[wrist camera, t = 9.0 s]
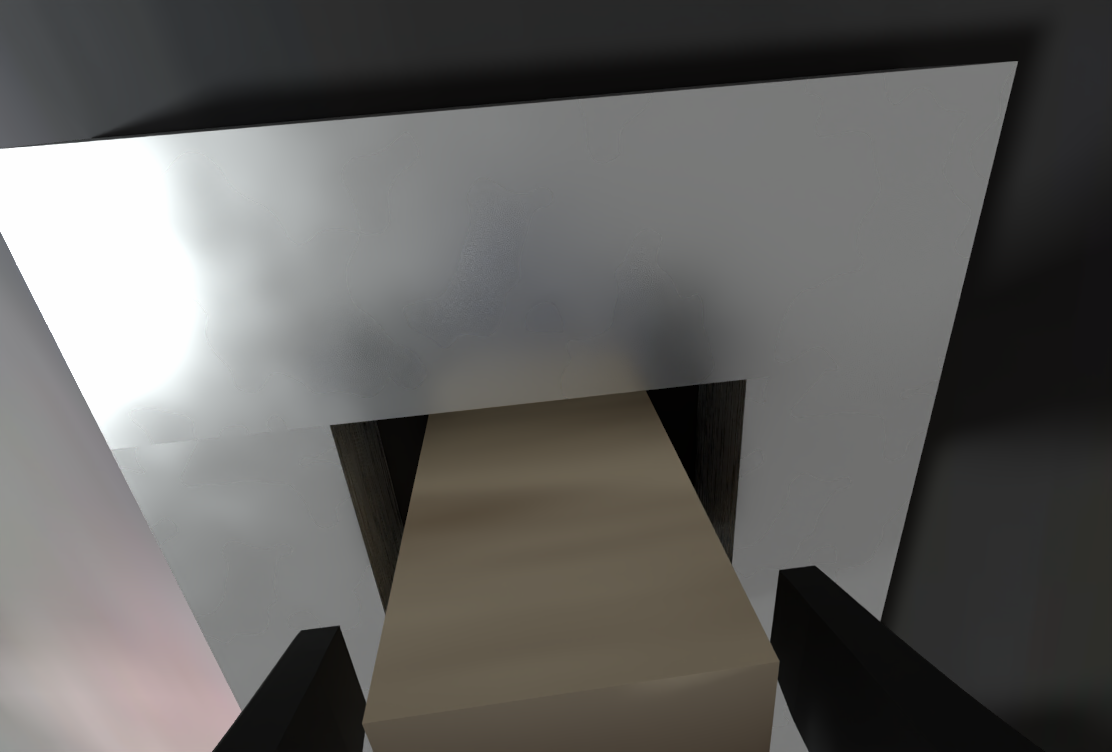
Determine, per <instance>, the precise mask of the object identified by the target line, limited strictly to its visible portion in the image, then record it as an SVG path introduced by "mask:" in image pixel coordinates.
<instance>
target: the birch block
mask: <svg viewBox="0 0 1112 752" xmlns="http://www.w3.org/2000/svg"><path fill="white" fill-rule="evenodd" d="M779 662H780V661H779V659H778V657H777V655H776V653H775V651H774V649H773V647H772V645H771V643H770V641H769V639H768V637H767V635H766V633H765V631H764V629H763V627H762V625H761V623H760V621H759V619H758V617H757V615H756V613H755V611H754V609H753V607H752V605H751V603H750V601H749V599H748V597H747V595H746V593H745V591H744V589H743V587H742V585H741V583H740V580H739V578H738V576H737V574H736V572H735V570H734V568H733V566H732V564H731V562H730V560H729V558H728V556H727V554H726V552H725V550H724V548H723V546H722V544H721V542H720V540H719V538H718V536H717V534H716V532H715V530H714V528H713V526H712V524H711V522H710V520H709V518H708V516H707V514H706V512H705V510H704V508H703V506H702V504H701V502H700V500H699V498H698V496H697V494H696V491H695V489H694V487H693V485H692V483H691V481H690V479H689V477H688V475H687V473H686V471H685V469H684V467H683V465H682V463H681V461H680V459H679V457H678V455H677V453H676V451H675V449H674V447H673V445H672V443H671V441H670V439H669V437H668V435H667V433H666V431H665V429H664V427H663V425H662V423H661V421H660V419H659V417H658V415H657V413H656V411H655V409H654V407H653V405H652V402H651V400H650V398H649V396H648V394H647V392H646V390H644V391H635V392H626V393H617V394H608V395H599V396H590V397H581V398H572V399H563V400H554V401H545V402H535V403H526V404H517V405H508V406H499V407H490V408H481V409H472V410H463V411H454V412H445V413H436V414H429V417H428V421H427V426H426V430H425V435H424V440H423V444H422V449H421V454H420V458H419V463H418V467H417V472H416V477H415V481H414V486H413V491H412V495H411V500H410V504H409V509H408V514H407V518H406V523H405V527H404V532H403V537H402V541H401V546H400V551H399V555H398V560H397V564H396V569H395V574H394V578H393V583H392V588H391V592H390V597H389V601H388V606H387V611H386V615H385V620H384V624H383V629H382V634H381V638H380V643H379V648H378V652H377V657H376V661H375V666H374V671H373V675H372V680H371V685H370V689H369V694H368V698H367V703H366V708H365V712H364V717H363V721H362V725H363V727H364V730H365V732H366V735H367V737H368V740H369V742H370V745H371V747H372V750H373V752H770V743H771V734H772V725H773V716H774V707H775V698H776V689H777V680H778V671H779Z"/></svg>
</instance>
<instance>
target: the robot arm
mask: <svg viewBox="0 0 1112 752" xmlns="http://www.w3.org/2000/svg"><path fill="white" fill-rule="evenodd" d="M770 643H771V645H772V647H773V649H774V651H775V653H776V655H777V657H778V659H779V661H780V662H779V671H778V682H779V685H780V688H781V690H782V693H783V696H784V698H785V701H786V703H787V706H788V708H789V711H790V714H791V716H792V719H793V721H794V723H795V725H796V727H797V729H798V731H799V733H800V735H801V737H802V739H803V741H804V743H805V745H806V747H807V749H808V751H809V752H1044V751H1043V750H1042V749H1040V748H1039V747H1038V746H1036V745H1035V744H1033V743H1032V742H1031V741H1029V740H1028V739H1027V738H1025V737H1024V736H1023V735H1021V734H1020V733H1019V732H1017V731H1016V730H1015V729H1013V728H1012V727H1011V726H1009V725H1008V724H1007V723H1005V722H1004V721H1003V720H1002V719H1000V718H999V717H998V716H996V715H995V714H994V713H992V712H991V711H990V710H988V709H987V708H986V707H984V706H983V705H982V704H981V703H979V702H978V701H977V700H975V699H974V698H973V697H972V696H970V695H969V694H968V693H967V692H965V691H964V690H963V689H961V688H960V687H959V686H958V685H956V684H955V683H954V682H953V681H952V680H950V679H949V678H948V677H947V676H945V675H944V674H943V673H942V672H940V671H939V670H938V669H937V668H936V667H934V666H933V665H932V664H931V663H929V662H928V661H927V660H926V659H924V658H923V657H922V656H921V655H920V654H918V653H917V652H916V651H915V650H913V649H912V648H911V647H910V646H909V645H908V644H906V643H905V642H904V641H903V640H902V639H900V638H899V637H898V636H897V635H896V634H894V633H893V632H892V631H891V630H890V629H889V628H887V627H886V626H885V625H884V624H883V623H882V622H880V621H879V620H878V619H877V618H876V617H875V616H873V615H872V614H871V613H870V612H869V611H868V610H866V609H865V608H864V607H863V606H862V605H861V604H859V603H858V602H857V601H856V600H855V599H854V598H853V597H851V596H850V595H849V594H848V593H847V592H846V591H844V590H843V589H842V588H841V587H840V586H839V585H837V584H836V583H835V582H834V581H833V580H832V579H831V578H829V577H828V576H827V575H826V574H825V573H823V572H822V571H821V570H820V569H819V568H818V567H816V566H815V565H814V566H806V567H798V568H790V569H782V570H779V575H778V583H777V590H776V598H775V606H774V614H773V622H772V630H771V638H770ZM365 708H366V701H365V698H364V695H363V692H362V689H361V686H360V683H359V680H358V678H357V675H356V672H355V669H354V666H353V663H352V660H351V657H350V654H349V651H348V649H347V646H346V643H345V640H344V637H343V634H342V631H341V628H340V625H338V626H331V627H323V628H315V629H307V630H301V631H300V632H299V633H298V634H297V635H296V637H295V638H294V639H293V641H292V642H291V644H290V645H289V646H288V648H287V649H286V651H285V652H284V653H283V655H282V656H281V658H280V659H279V660H278V662H277V663H276V665H275V666H274V667H273V669H272V670H271V672H270V673H269V675H268V676H267V677H266V679H265V680H264V682H263V683H262V684H261V686H260V687H259V689H258V690H257V691H256V693H255V694H254V696H253V697H252V698H251V700H250V701H249V702H248V704H247V705H246V707H245V708H244V709H243V711H242V712H241V714H240V715H239V716H238V718H237V719H236V720H235V722H234V723H233V725H232V726H231V727H230V729H229V730H228V731H227V733H226V734H225V735H224V737H223V738H222V739H221V741H220V742H219V743H218V745H217V746H216V747H215V749H214V750H213V751H212V752H363V745H364V737H365V730H364V727H363V725H362V721H363V717H364V712H365Z"/></svg>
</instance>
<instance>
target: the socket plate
mask: <svg viewBox="0 0 1112 752" xmlns="http://www.w3.org/2000/svg"><path fill="white" fill-rule="evenodd" d="M1017 63H1018V61H1011V62H995V63H979V64H963V65H946V66H930V67H914V68H900V69H888V70H877V71H865V72H854V73H842V74H831V75H819V76H807V77H796V78H784V79H773V80H761V81H750V82H738V83H727V84H715V85H703V86H692V87H680V88H669V89H657V90H646V91H634V92H623V93H611V94H599V95H588V96H576V97H565V98H553V99H542V100H530V101H519V102H507V103H495V104H484V105H472V106H461V107H449V108H438V109H426V110H415V111H403V112H391V113H380V114H368V115H357V116H345V117H334V118H322V119H311V120H299V121H288V122H276V123H264V124H253V125H241V126H230V127H218V128H207V129H195V130H184V131H172V132H160V133H149V134H137V135H126V136H114V137H103V138H91V139H81V140H72V141H63V142H54V143H45V144H36V145H27V146H18V147H9V148H0V230H1V232H2V234H3V236H4V238H5V240H6V242H7V244H8V246H9V248H10V250H11V252H12V254H13V256H14V258H15V260H16V262H17V264H18V266H19V268H20V270H21V272H22V274H23V276H24V278H25V280H26V282H27V284H28V286H29V288H30V290H31V292H32V294H33V296H34V298H35V300H36V302H37V304H38V306H39V308H40V310H41V312H42V314H43V316H44V318H45V320H46V322H47V324H48V326H49V328H50V330H51V332H52V334H53V336H54V338H55V340H56V342H57V344H58V346H59V348H60V350H61V352H62V354H63V356H64V358H65V360H66V362H67V364H68V366H69V368H70V370H71V372H72V374H73V376H74V378H75V380H76V382H77V384H78V386H79V388H80V390H81V392H82V394H83V396H84V398H85V400H86V402H87V404H88V406H89V408H90V410H91V412H92V414H93V416H94V418H95V420H96V422H97V424H98V426H99V428H100V430H101V432H102V434H103V436H104V438H105V440H106V442H107V444H108V446H109V448H110V450H111V452H112V454H113V456H114V458H115V460H116V462H117V464H118V465H119V467H120V469H121V471H122V473H123V475H124V477H125V479H126V481H127V483H128V485H129V487H130V489H131V491H132V493H133V495H134V497H135V499H136V501H137V503H138V505H139V507H140V509H141V511H142V513H143V515H144V517H145V519H146V521H147V523H148V525H149V527H150V529H151V531H152V533H153V535H154V537H155V539H156V541H157V543H158V545H159V547H160V549H161V551H162V553H163V555H164V557H165V559H166V561H167V563H168V565H169V567H170V569H171V571H172V573H173V575H174V577H175V579H176V581H177V583H178V585H179V587H180V589H181V591H182V593H183V595H184V597H185V599H186V601H187V603H188V605H189V607H190V609H191V611H192V613H193V615H194V617H195V619H196V621H197V623H198V625H199V627H200V629H201V631H202V633H203V635H204V637H205V639H206V641H207V643H208V645H209V647H210V649H211V651H212V653H213V655H214V657H215V659H216V661H217V663H218V665H219V667H220V669H221V671H222V673H223V675H224V677H225V679H226V681H227V683H228V685H229V687H230V689H231V691H232V693H233V695H234V697H235V699H236V701H237V703H238V705H239V707H240V708H241V710H242V711H243V709H244V708H245V707H246V705H247V704H248V702H249V701H250V700H251V698H252V697H253V696H254V694H255V693H256V691H257V690H258V689H259V687H260V686H261V684H262V683H263V682H264V680H265V679H266V677H267V676H268V675H269V673H270V672H271V670H272V669H273V667H274V666H275V665H276V663H277V662H278V660H279V659H280V658H281V656H282V655H283V653H284V652H285V651H286V649H287V648H288V646H289V645H290V644H291V642H292V641H293V639H294V638H295V637H296V635H297V634H298V633H299V632H300V631H301V630H307V629H315V628H323V627H331V626H338V625H340V628H341V631H342V634H343V637H344V640H345V643H346V646H347V649H348V651H349V654H350V657H351V660H352V663H353V666H354V669H355V672H356V675H357V678H358V680H359V683H360V686H361V689H362V692H363V695H364V698H365V701H366V703H367V698H368V694H369V689H370V685H371V680H372V675H373V671H374V666H375V661H376V657H377V652H378V648H379V643H380V638H381V634H382V629H383V624H384V620H385V615H386V611H387V606H388V601H389V597H390V592H391V588H392V583H393V578H394V574H395V569H396V564H397V560H398V555H399V551H400V546H401V541H402V537H403V532H404V528H403V524H402V520H401V516H400V512H399V508H398V504H397V500H396V496H395V492H394V488H393V484H392V480H391V476H390V472H389V468H388V464H387V460H386V456H385V452H384V448H383V444H382V440H381V436H380V432H379V428H378V424H377V420H382V419H391V418H400V417H409V416H418V415H427V414H436V413H445V412H454V411H463V410H472V409H481V408H490V407H499V406H508V405H517V404H526V403H535V402H545V401H554V400H563V399H572V398H581V397H590V396H599V395H608V394H617V393H626V392H635V391H644V390H653V389H662V388H671V387H680V386H689V385H698V409H697V436H696V463H695V491H696V494H697V496H698V498H699V500H700V502H701V504H702V506H703V508H704V510H705V512H706V514H707V516H708V518H709V520H710V522H711V524H712V526H713V528H714V530H715V532H716V534H717V536H718V538H719V540H720V542H721V544H722V546H723V548H724V550H725V552H726V554H727V556H728V558H729V560H730V562H731V564H732V566H733V568H734V570H735V572H736V574H737V576H738V578H739V580H740V583H741V585H742V587H743V589H744V591H745V593H746V595H747V597H748V599H749V601H750V603H751V605H752V607H753V609H754V611H755V613H756V615H757V617H758V619H759V621H760V623H761V625H762V627H763V629H764V631H765V633H766V635H767V637H768V639H769V641H770V638H771V630H772V622H773V614H774V606H775V598H776V590H777V583H778V575H779V570H782V569H790V568H798V567H806V566H814V565H815V566H816V567H818V568H819V569H820V570H821V571H822V572H823V573H825V574H826V575H827V576H828V577H829V578H831V579H832V580H833V581H834V582H835V583H836V584H837V585H839V586H840V587H841V588H842V589H843V590H844V591H846V592H847V593H848V594H849V595H850V596H851V597H853V598H854V599H855V600H856V601H857V602H858V603H859V604H861V605H862V606H863V607H864V608H865V609H866V610H868V611H869V612H870V613H871V614H872V615H873V616H875V617H876V618H877V619H878V620H879V621H880V620H881V616H882V612H883V608H884V604H885V600H886V596H887V592H888V588H889V584H890V579H891V575H892V571H893V567H894V563H895V559H896V555H897V551H898V547H899V543H900V539H901V535H902V531H903V527H904V523H905V519H906V514H907V510H908V506H909V502H910V498H911V494H912V490H913V486H914V482H915V478H916V474H917V470H918V466H919V462H920V458H921V454H922V449H923V445H924V441H925V437H926V433H927V429H928V425H929V421H930V417H931V413H932V409H933V405H934V401H935V397H936V393H937V389H938V384H939V380H940V376H941V372H942V368H943V364H944V360H945V356H946V352H947V348H948V344H949V340H950V336H951V332H952V328H953V323H954V319H955V315H956V311H957V307H958V303H959V299H960V295H961V291H962V287H963V283H964V279H965V275H966V271H967V267H968V263H969V258H970V254H971V250H972V246H973V242H974V238H975V234H976V230H977V226H978V222H979V218H980V214H981V210H982V206H983V202H984V198H985V193H986V189H987V185H988V181H989V177H990V173H991V169H992V165H993V161H994V157H995V153H996V149H997V145H998V141H999V137H1000V132H1001V128H1002V124H1003V120H1004V116H1005V112H1006V108H1007V104H1008V100H1009V96H1010V92H1011V88H1012V84H1013V80H1014V76H1015V72H1016V67H1017ZM363 752H373V750H372V747H371V745H370V742H369V740H368V737H367V735H366V732H365V737H364V745H363ZM770 752H809V751H808V749H807V747H806V745H805V743H804V741H803V739H802V737H801V735H800V733H799V731H798V729H797V727H796V725H795V723H794V721H793V719H792V716H791V714H790V711H789V708H788V706H787V703H786V701H785V698H784V696H783V693H782V690H781V688H780V685H779V682H778V680H777V689H776V698H775V707H774V716H773V725H772V734H771V743H770Z"/></svg>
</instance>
